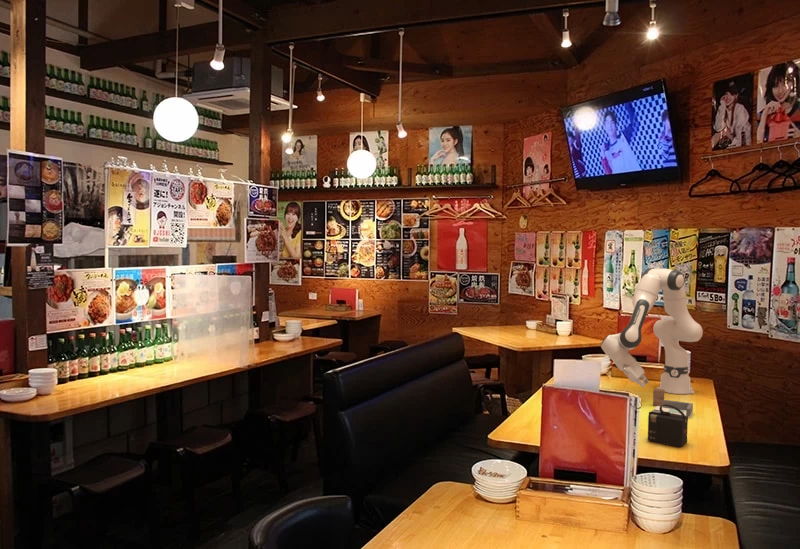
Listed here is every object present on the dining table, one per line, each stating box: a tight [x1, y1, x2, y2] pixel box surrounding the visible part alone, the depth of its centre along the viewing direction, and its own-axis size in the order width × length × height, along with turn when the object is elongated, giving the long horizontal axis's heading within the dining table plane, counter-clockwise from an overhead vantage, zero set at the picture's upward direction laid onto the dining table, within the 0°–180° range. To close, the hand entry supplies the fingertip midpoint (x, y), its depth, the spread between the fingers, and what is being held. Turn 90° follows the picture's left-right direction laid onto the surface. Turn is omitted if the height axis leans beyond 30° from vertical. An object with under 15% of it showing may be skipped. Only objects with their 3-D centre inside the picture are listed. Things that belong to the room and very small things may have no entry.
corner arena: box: [654, 399, 694, 420], centre depth 303 cm, size 12×16×4 cm
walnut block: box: [652, 387, 666, 407], centre depth 317 cm, size 4×4×8 cm
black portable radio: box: [647, 404, 689, 448], centre depth 258 cm, size 11×14×15 cm
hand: (645, 384), depth 320 cm, fingers open, 8 cm apart
